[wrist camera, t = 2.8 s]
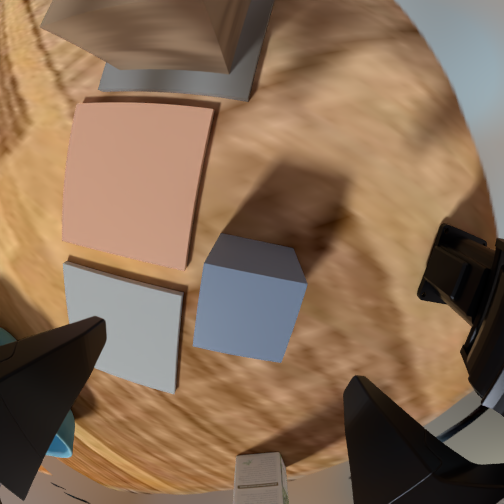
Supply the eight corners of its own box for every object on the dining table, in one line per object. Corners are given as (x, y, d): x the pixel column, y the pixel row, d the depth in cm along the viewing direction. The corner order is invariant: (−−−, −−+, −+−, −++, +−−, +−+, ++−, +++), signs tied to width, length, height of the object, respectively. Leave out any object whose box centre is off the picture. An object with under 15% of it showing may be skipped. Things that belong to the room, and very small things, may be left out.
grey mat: (183, 292, 20) (181, 296, 19) (175, 390, 23) (174, 394, 22) (66, 260, 19) (62, 263, 19) (79, 357, 23) (76, 360, 22)
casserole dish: (4, 286, 21) (-35, 312, 14) (115, 425, 27) (97, 465, 20) (-37, 349, 27) (-54, 365, 20) (26, 428, 33) (13, 448, 26)
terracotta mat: (214, 111, 16) (213, 109, 15) (186, 267, 19) (184, 271, 19) (81, 104, 15) (76, 103, 15) (66, 238, 19) (62, 240, 18)
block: (293, 248, 19) (307, 284, 13) (276, 310, 20) (281, 362, 14) (220, 232, 18) (204, 263, 13) (209, 297, 20) (192, 346, 14)
